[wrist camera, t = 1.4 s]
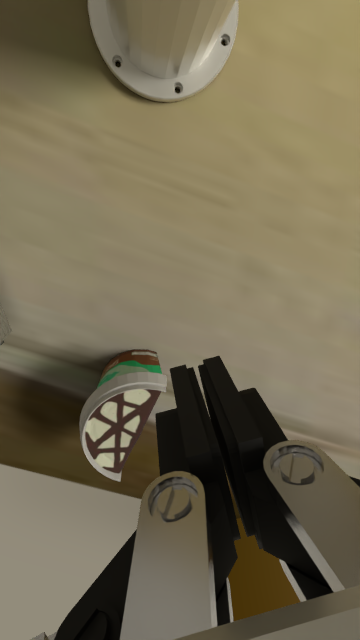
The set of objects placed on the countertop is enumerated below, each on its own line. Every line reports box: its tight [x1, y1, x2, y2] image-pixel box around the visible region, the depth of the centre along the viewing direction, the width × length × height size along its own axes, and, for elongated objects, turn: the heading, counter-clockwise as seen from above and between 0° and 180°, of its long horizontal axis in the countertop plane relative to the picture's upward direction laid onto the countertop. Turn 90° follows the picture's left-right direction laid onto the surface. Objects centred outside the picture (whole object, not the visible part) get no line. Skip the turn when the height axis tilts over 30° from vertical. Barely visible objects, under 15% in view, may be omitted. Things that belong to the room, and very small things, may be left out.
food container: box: [79, 349, 167, 482], centre depth 35 cm, size 12×6×10 cm, turn 155°
